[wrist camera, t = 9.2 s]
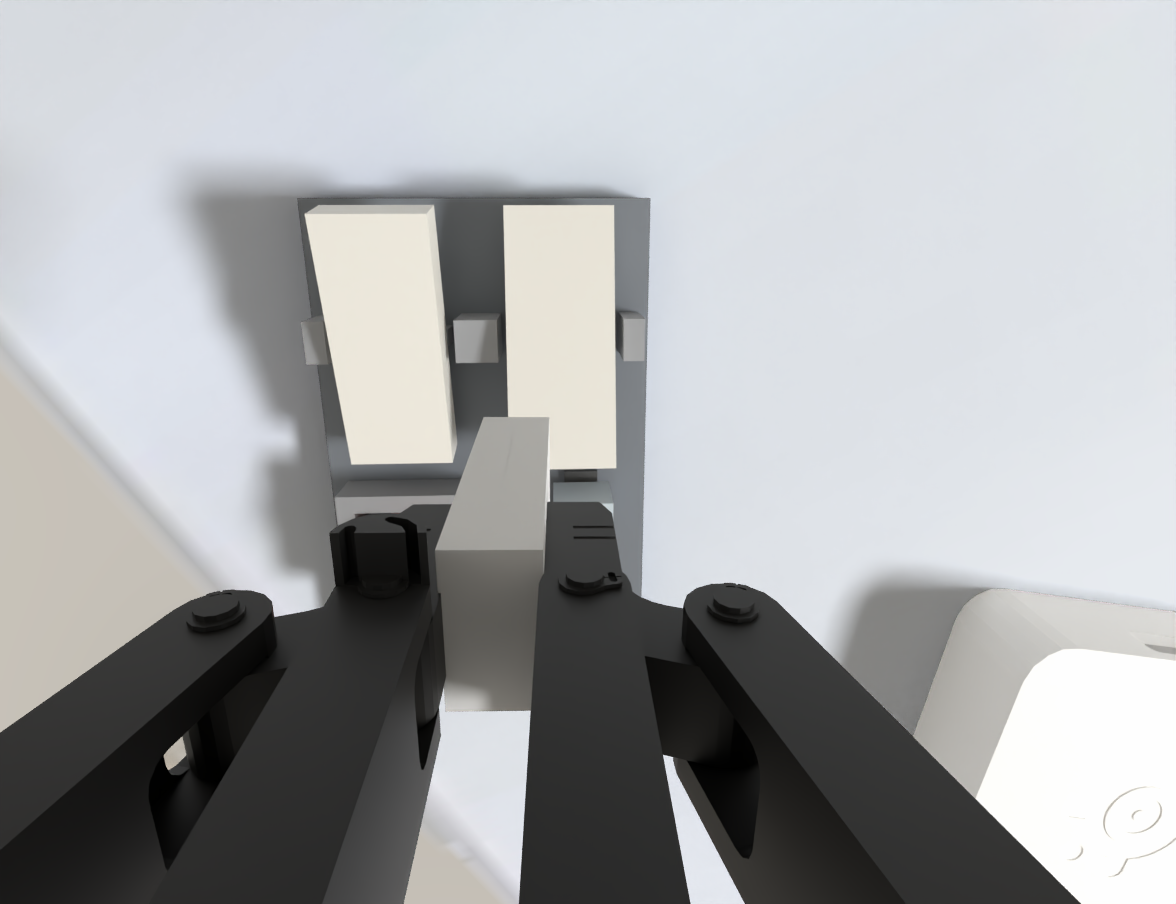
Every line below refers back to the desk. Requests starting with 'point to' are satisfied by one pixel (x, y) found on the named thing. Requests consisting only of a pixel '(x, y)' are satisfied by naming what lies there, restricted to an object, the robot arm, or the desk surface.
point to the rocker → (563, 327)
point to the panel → (490, 379)
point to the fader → (583, 493)
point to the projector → (1066, 735)
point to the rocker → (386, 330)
